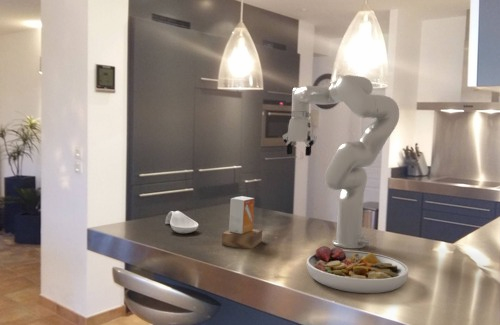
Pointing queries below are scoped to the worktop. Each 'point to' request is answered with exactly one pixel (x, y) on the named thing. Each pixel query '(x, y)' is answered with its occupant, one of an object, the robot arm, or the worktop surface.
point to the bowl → (356, 270)
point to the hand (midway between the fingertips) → (298, 154)
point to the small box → (241, 214)
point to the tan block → (242, 239)
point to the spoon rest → (181, 222)
